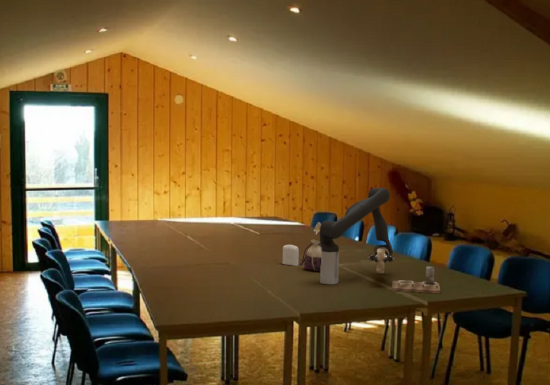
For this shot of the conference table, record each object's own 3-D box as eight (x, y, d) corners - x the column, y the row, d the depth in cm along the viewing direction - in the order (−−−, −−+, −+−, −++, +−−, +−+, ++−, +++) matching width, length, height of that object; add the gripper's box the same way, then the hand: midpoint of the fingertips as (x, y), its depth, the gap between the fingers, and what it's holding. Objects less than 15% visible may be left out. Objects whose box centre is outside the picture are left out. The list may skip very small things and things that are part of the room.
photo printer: (299, 265, 380) (299, 245, 379) (296, 266, 376) (296, 246, 375) (284, 263, 385) (285, 243, 384) (281, 264, 381) (281, 244, 380)
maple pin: (376, 272, 321) (377, 249, 321) (376, 271, 325) (377, 248, 325) (384, 273, 321) (384, 250, 320) (384, 271, 324) (385, 249, 324)
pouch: (294, 269, 367) (294, 237, 365) (302, 267, 373) (302, 236, 372) (329, 275, 351) (330, 241, 350) (337, 272, 358) (338, 240, 356)
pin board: (391, 290, 314) (392, 268, 313) (392, 283, 331) (393, 262, 330) (440, 293, 309) (441, 271, 308) (438, 286, 326) (439, 264, 325)
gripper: (369, 247, 338) (367, 252, 321) (395, 249, 335) (394, 254, 318) (368, 261, 338) (366, 266, 321) (395, 262, 335) (394, 268, 318)
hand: (380, 260), depth 320 cm, fingers closed on maple pin, 4 cm apart
